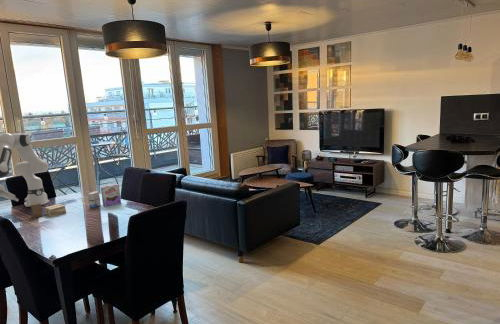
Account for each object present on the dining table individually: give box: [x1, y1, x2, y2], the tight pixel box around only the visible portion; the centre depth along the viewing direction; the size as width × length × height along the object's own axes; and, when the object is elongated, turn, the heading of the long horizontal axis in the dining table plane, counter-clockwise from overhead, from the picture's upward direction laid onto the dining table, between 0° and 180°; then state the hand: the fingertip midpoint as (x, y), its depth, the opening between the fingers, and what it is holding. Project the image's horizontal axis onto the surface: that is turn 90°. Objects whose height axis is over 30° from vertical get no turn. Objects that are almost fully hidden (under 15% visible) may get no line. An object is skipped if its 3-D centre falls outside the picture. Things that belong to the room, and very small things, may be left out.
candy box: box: [100, 183, 122, 207], centre depth 285 cm, size 14×6×16 cm, turn 120°
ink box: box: [87, 191, 101, 208], centre depth 283 cm, size 9×5×12 cm, turn 168°
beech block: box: [44, 203, 67, 217], centre depth 269 cm, size 11×11×6 cm
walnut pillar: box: [30, 203, 43, 219], centre depth 264 cm, size 5×5×10 cm
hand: (15, 199), depth 252 cm, fingers open, 8 cm apart
